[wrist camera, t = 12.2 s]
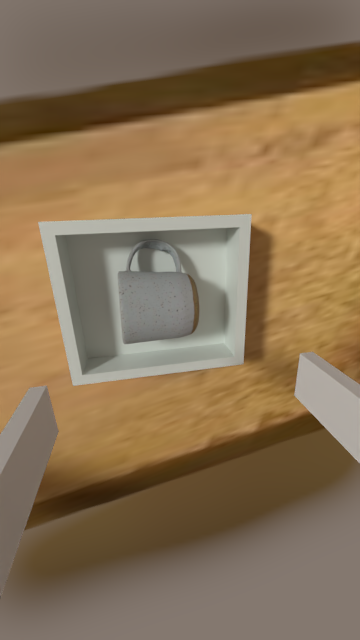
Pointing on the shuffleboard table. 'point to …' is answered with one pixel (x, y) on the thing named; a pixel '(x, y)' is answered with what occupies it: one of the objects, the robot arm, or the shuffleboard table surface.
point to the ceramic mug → (156, 300)
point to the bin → (111, 257)
